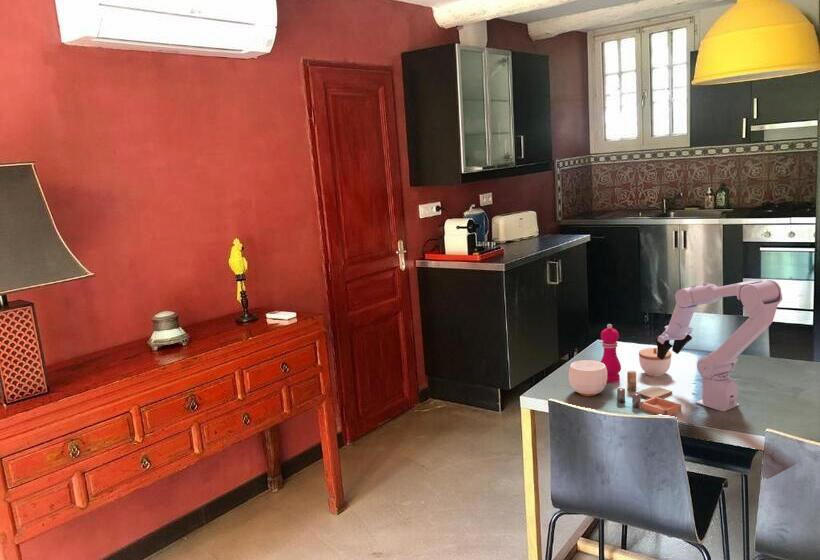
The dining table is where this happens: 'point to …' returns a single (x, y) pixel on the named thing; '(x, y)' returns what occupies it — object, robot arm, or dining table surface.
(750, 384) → the dining table surface
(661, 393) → the tan flat wooden block
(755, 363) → the dining table surface
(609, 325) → the pepper mill
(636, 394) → the bench dogs
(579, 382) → the cup
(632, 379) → the dowel
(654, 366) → the lidded jar
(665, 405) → the dish
